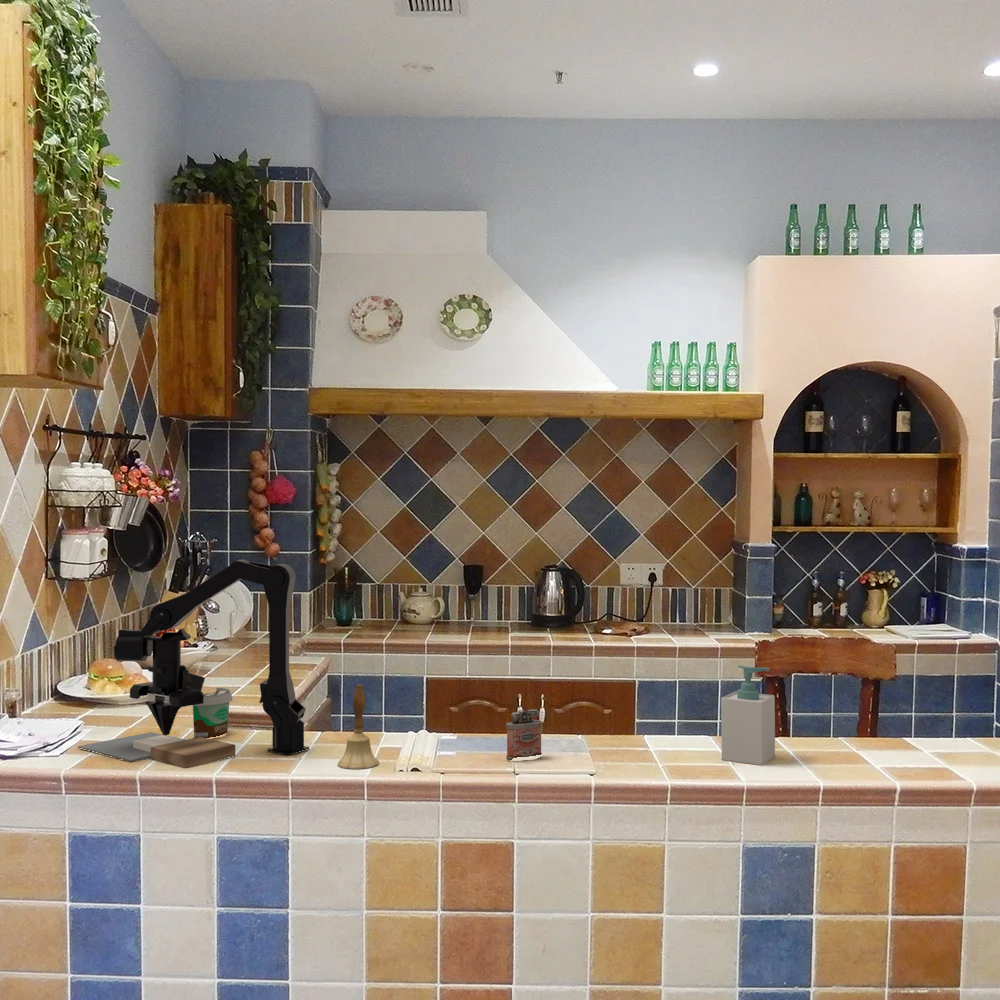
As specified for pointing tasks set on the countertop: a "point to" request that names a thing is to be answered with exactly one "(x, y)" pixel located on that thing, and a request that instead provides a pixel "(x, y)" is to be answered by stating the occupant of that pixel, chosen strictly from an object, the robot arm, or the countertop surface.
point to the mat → (122, 747)
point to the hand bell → (358, 739)
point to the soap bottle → (748, 723)
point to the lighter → (523, 735)
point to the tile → (153, 742)
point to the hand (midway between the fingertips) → (166, 734)
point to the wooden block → (192, 752)
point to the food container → (212, 714)
